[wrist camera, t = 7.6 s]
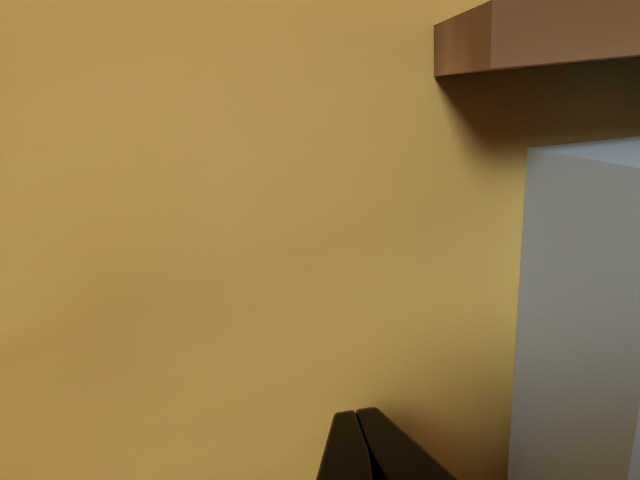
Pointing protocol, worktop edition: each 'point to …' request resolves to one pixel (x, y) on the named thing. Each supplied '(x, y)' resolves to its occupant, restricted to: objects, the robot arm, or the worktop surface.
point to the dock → (536, 34)
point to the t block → (578, 315)
